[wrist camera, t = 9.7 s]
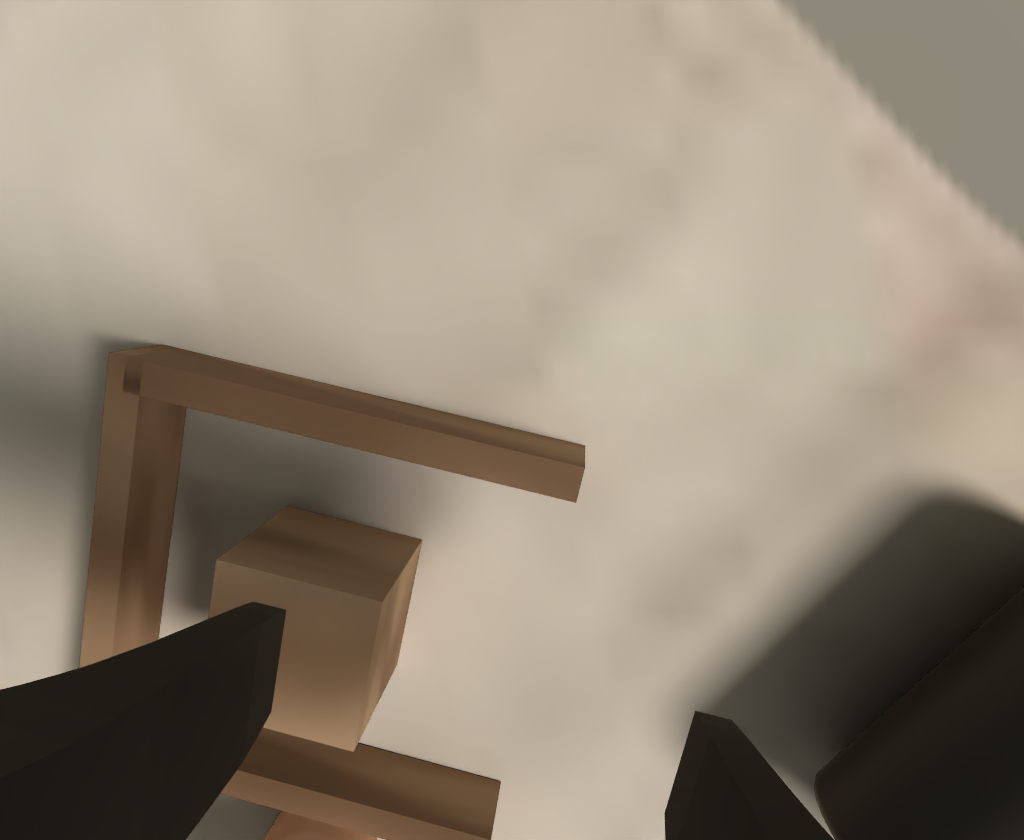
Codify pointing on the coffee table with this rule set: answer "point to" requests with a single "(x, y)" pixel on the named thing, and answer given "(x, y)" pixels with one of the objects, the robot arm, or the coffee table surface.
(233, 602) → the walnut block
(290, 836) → the tan rounded capsule
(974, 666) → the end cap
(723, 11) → the coffee table surface
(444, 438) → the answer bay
